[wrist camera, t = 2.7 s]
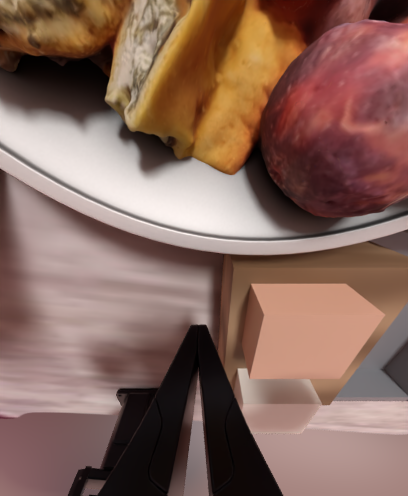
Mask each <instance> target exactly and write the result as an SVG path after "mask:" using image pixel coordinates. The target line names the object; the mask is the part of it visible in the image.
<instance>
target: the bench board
mask: <svg viewBox="0 0 408 496" xmlns="http://www.w3.org/2000/svg"><path fill="white" fill-rule="evenodd" d="M251 284H347V285H348V286H349V287H351V288H352V289H353V290H355V291H356V292H357V293H358V294H360V295H361V296H362V297H363V298H365V299H366V300H367V301H369V302H370V303H371V304H372V305H374V306H375V307H376V308H377V309H379V310H380V311H381V312H383V313H384V314H385V316H384V317H383V319H382V320H381V322H380V323H379V324H378V326H377V327H376V329H375V330H374V332H373V333H372V334H371V336H370V337H369V339H368V340H367V341H366V343H365V344H364V346H363V347H362V348H361V350H360V351H359V353H358V354H357V355H356V357H355V358H354V360H353V361H352V363H351V364H350V365H349V367H348V368H347V370H346V371H345V372H344V374H343V375H342V377H341V378H340V379H310V381H311V383H312V385H313V387H314V389H315V391H316V393H317V395H318V397H319V399H320V401H321V403H322V405H330V404H331V402H332V401H333V400H334V399H335V397H336V396H337V395H338V393H339V392H340V391H341V389H342V388H343V387H344V385H345V384H346V383H347V381H348V380H349V379H350V377H351V376H352V375H353V374H354V372H355V371H356V370H357V368H358V367H359V366H360V364H361V363H362V362H363V360H364V359H365V358H366V356H367V355H368V354H369V352H370V351H371V350H372V349H373V347H374V346H375V345H376V343H377V342H378V341H379V339H380V338H381V337H382V335H383V334H384V333H385V331H386V330H387V329H388V327H389V326H390V325H391V324H392V322H393V321H394V320H395V318H396V317H397V316H398V314H399V313H400V312H401V310H402V309H403V308H404V306H405V305H406V304H407V302H408V257H407V256H405V255H403V254H400V253H398V252H395V251H393V250H391V249H388V248H386V247H383V246H381V245H378V244H376V243H374V242H371V241H365V242H362V243H357V244H352V245H348V246H343V247H338V248H333V249H326V250H320V251H314V252H305V253H295V254H281V255H237V254H224V256H223V273H222V290H221V307H220V325H219V342H218V355H219V357H220V360H221V362H222V365H223V367H224V370H225V372H226V375H227V377H228V380H229V382H230V384H231V387H232V389H233V392H234V387H235V381H236V375H237V369H247V366H246V361H245V357H244V352H243V348H242V338H243V332H244V325H245V319H246V313H247V307H248V300H249V294H250V288H251Z"/></svg>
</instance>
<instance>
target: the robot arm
mask: <svg viewBox="0 0 408 496" xmlns="http://www.w3.org/2000/svg"><path fill="white" fill-rule="evenodd" d="M198 367H199V382H200V394H201V406H202V418H203V430H204V442H205V454H206V465H207V478H208V489H209V496H283V494H282V492H281V490H280V489H279V486H278V484H277V482H276V481H275V479H274V477H273V475H272V473H271V471H270V469H269V467H268V465H267V463H266V461H265V459H264V457H263V455H262V453H261V451H260V449H259V447H258V445H257V443H256V441H255V439H254V437H253V435H252V433H251V431H250V429H249V427H248V425H247V423H246V420H245V418H244V416H243V413H242V411H241V409H240V406H239V404H238V401H237V399H236V397H235V394H234V392H233V389H232V387H231V384H230V382H229V380H228V377H227V375H226V372H225V370H224V367H223V365H222V362H221V360H220V357H219V355H218V352H217V350H216V347H215V345H214V343H213V340H212V338H211V335H210V333H209V330H208V328H207V326H206V325H191V326H190V328H189V330H188V332H187V334H186V336H185V338H184V340H183V342H182V344H181V346H180V348H179V350H178V352H177V354H176V356H175V358H174V360H173V361H172V363H171V365H170V367H169V369H168V371H167V373H166V375H165V377H164V379H163V381H162V383H161V385H160V387H159V389H158V390H118V391H117V394H116V396H117V398H118V400H119V402H120V404H121V406H122V407H121V410H120V413H119V416H118V419H117V422H116V424H115V427H114V430H113V433H112V436H111V439H110V442H109V444H108V447H107V450H106V453H105V456H104V458H103V461H102V464H101V467H100V469H95V468H92V467H91V466H86V468H85V469H81V470H78V473H77V475H76V477H75V479H74V482H73V484H72V487H71V489H70V491H69V494H68V496H83V493H84V490H85V488H87V489H99V490H100V492H99V493H98V495H89V496H183V494H184V486H185V477H186V469H187V460H188V452H189V445H190V436H191V428H192V420H193V411H194V403H195V395H196V386H197V378H198Z"/></svg>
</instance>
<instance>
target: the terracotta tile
mask: <svg viewBox="0 0 408 496" xmlns="http://www.w3.org/2000/svg"><path fill="white" fill-rule="evenodd" d="M384 316H385V314H384V313H383V312H381V311H380V310H379V309H377V308H376V307H375V306H374V305H372V304H371V303H370V302H369V301H367V300H366V299H365V298H363V297H362V296H361V295H360V294H358V293H357V292H356V291H355V290H353V289H352V288H351V287H349V286H348V285H347V284H251V288H250V294H249V300H248V307H247V313H246V319H245V325H244V332H243V338H242V348H243V352H244V357H245V361H246V366H247V371H248V375H249V379H340V378H341V377H342V375H343V374H344V372H345V371H346V370H347V368H348V367H349V365H350V364H351V363H352V361H353V360H354V358H355V357H356V355H357V354H358V353H359V351H360V350H361V348H362V347H363V346H364V344H365V343H366V341H367V340H368V339H369V337H370V336H371V334H372V333H373V332H374V330H375V329H376V327H377V326H378V324H379V323H380V322H381V320H382V319H383V317H384Z"/></svg>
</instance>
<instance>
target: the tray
mask: <svg viewBox="0 0 408 496" xmlns="http://www.w3.org/2000/svg"><path fill="white" fill-rule="evenodd" d="M369 241H371V242H374V243H376V244H378V245H381V246H383V247H386V248H388V249H391V250H393V251H395V252H398V253H400V254H403V255H405V256H407V257H408V229H407V230H404V231H401V232H398V233H394V234H391V235H388V236H385V237H381V238H377V239H373V240H369ZM333 401H408V302H407V304H406V305H405V306H404V308H403V309H402V310H401V312H400V313H399V314H398V316H397V317H396V318H395V320H394V321H393V322H392V324H391V325H390V326H389V327H388V329H387V330H386V331H385V333H384V334H383V335H382V337H381V338H380V339H379V341H378V342H377V343H376V345H375V346H374V347H373V349H372V350H371V351H370V352H369V354H368V355H367V356H366V358H365V359H364V360H363V362H362V363H361V364H360V366H359V367H358V368H357V370H356V371H355V372H354V374H353V375H352V376H351V377H350V379H349V380H348V381H347V383H346V384H345V385H344V387H343V388H342V389H341V391H340V392H339V393H338V395H337V396H336V397H335V399H334V400H333Z"/></svg>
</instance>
